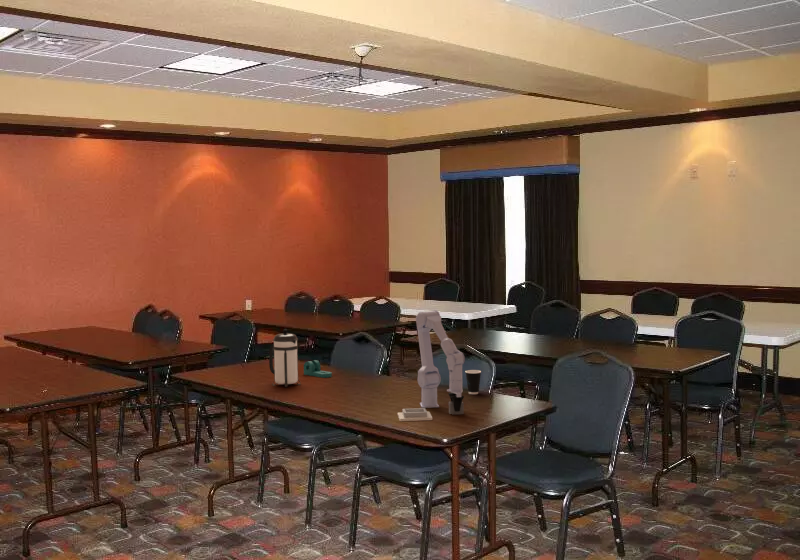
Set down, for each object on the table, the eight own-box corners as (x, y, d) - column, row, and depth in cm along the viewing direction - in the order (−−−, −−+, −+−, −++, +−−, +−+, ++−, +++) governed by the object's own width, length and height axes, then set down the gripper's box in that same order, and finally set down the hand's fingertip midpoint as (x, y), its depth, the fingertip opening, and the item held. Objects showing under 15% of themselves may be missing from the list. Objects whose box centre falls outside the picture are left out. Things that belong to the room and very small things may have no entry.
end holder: (397, 414, 358) (397, 408, 358) (429, 413, 360) (428, 406, 359) (399, 421, 347) (399, 414, 346) (432, 420, 348) (432, 413, 348)
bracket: (303, 374, 460) (303, 361, 460) (312, 373, 465) (312, 359, 465) (325, 378, 448) (325, 364, 448) (334, 376, 453) (334, 362, 453)
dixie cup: (484, 392, 403) (484, 370, 402) (476, 395, 396) (476, 373, 395) (470, 391, 407) (469, 369, 406) (462, 393, 401) (462, 371, 400)
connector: (448, 412, 361) (448, 401, 361) (462, 412, 362) (462, 400, 362) (450, 414, 357) (450, 403, 357) (463, 414, 358) (463, 402, 358)
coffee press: (302, 381, 439) (300, 326, 437) (299, 387, 423) (297, 330, 421) (269, 382, 438) (268, 327, 436) (265, 388, 422) (264, 331, 420)
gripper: (444, 377, 365) (444, 406, 366) (449, 383, 351) (450, 414, 352) (459, 376, 366) (459, 406, 367) (465, 382, 352) (466, 413, 353)
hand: (456, 410), depth 360 cm, fingers closed on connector, 4 cm apart
